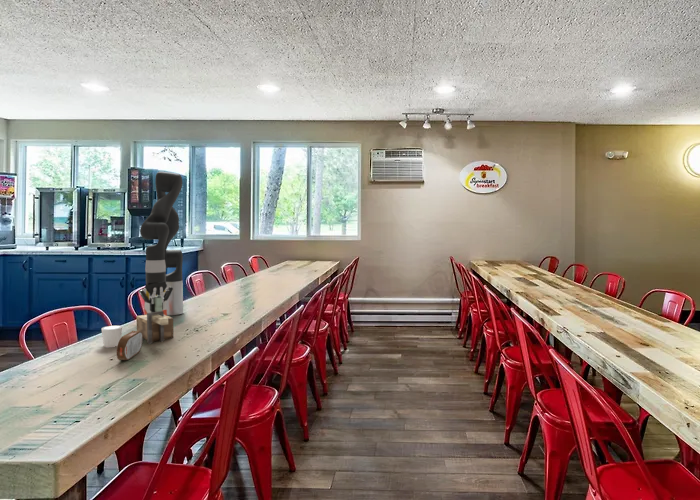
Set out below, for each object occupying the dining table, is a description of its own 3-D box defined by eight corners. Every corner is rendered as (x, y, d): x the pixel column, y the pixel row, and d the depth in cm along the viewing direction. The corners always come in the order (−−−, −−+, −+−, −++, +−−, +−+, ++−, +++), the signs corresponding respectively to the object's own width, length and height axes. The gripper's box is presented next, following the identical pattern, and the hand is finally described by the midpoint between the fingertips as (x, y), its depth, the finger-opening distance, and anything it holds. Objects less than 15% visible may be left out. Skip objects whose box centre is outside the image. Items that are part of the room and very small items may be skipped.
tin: (135, 350, 148) (135, 327, 148) (144, 349, 149) (144, 327, 148) (115, 364, 133) (115, 339, 133) (125, 364, 134) (124, 339, 133)
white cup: (126, 343, 156) (126, 325, 155) (111, 348, 149) (110, 330, 149) (113, 341, 158) (113, 324, 157) (97, 346, 151) (96, 328, 151)
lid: (136, 318, 166) (136, 297, 166) (158, 315, 173) (158, 294, 172) (148, 323, 158) (147, 301, 158) (171, 320, 165) (170, 298, 164)
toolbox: (133, 336, 166) (132, 307, 165) (158, 331, 173) (158, 304, 173) (149, 344, 155) (148, 313, 154) (175, 338, 163) (175, 309, 162)
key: (151, 320, 157) (150, 315, 157) (157, 319, 159) (157, 314, 159) (161, 325, 151) (161, 319, 150) (168, 324, 152) (168, 318, 152)
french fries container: (158, 325, 184) (157, 286, 183) (143, 321, 190) (143, 284, 188) (167, 322, 188) (166, 285, 187) (152, 319, 194) (152, 283, 192)
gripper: (141, 273, 158) (142, 316, 159) (176, 270, 168) (177, 310, 169) (134, 271, 163) (135, 313, 164) (168, 268, 173) (169, 308, 174)
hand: (156, 311), depth 166 cm, fingers closed on lid
